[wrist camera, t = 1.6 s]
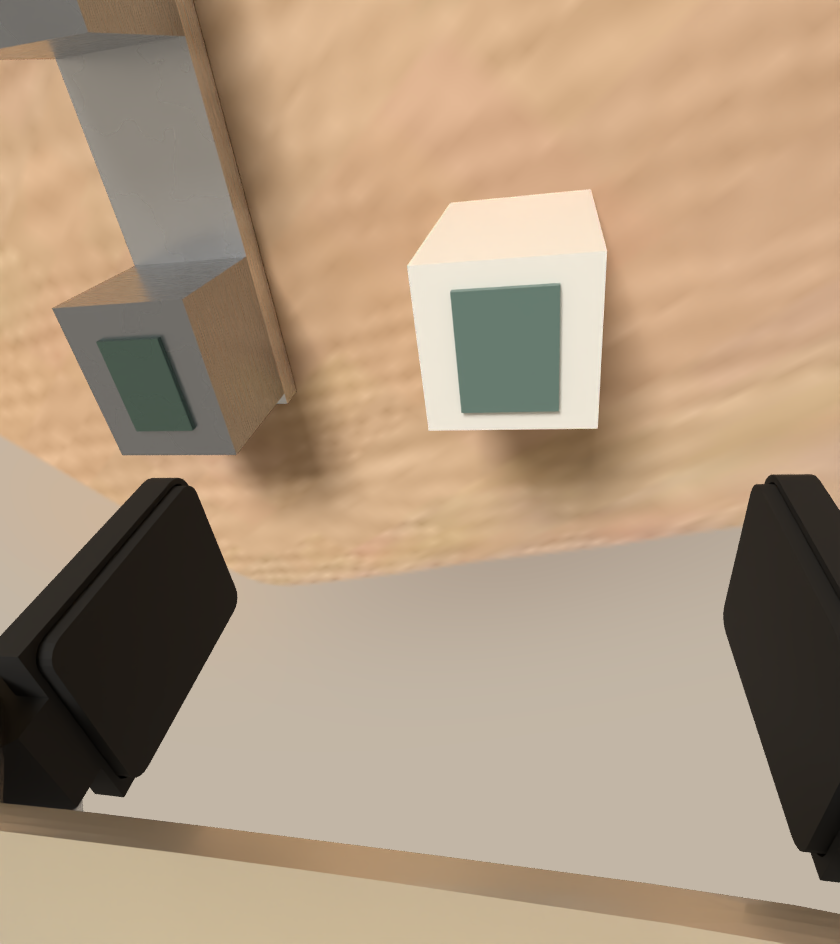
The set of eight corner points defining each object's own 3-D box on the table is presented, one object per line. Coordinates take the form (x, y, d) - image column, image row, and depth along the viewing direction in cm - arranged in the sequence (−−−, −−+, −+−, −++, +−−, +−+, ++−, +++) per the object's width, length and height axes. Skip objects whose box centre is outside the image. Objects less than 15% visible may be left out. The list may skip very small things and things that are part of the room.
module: (590, 189, 21) (607, 253, 14) (586, 325, 24) (598, 432, 17) (450, 202, 22) (405, 268, 15) (461, 331, 25) (427, 434, 18)
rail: (126, -249, 17) (-64, -383, 11) (296, 391, 28) (238, 468, 23) (-19, -206, 18) (-252, -309, 13) (200, 394, 29) (124, 468, 24)
